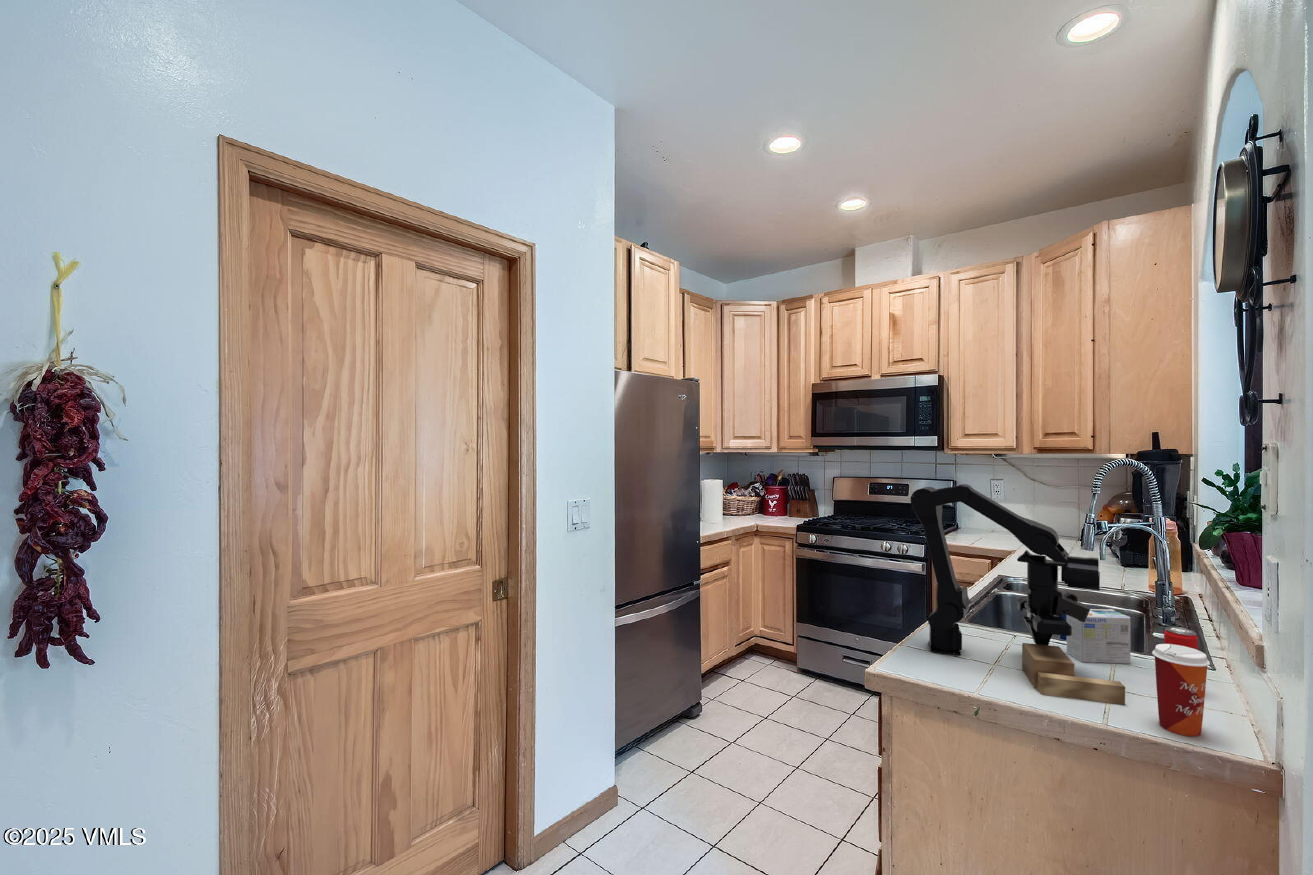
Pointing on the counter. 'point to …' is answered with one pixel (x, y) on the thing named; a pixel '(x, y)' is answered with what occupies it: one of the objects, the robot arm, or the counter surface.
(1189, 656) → the paper cup
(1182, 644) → the beverage can
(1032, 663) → the walnut block
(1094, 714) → the counter surface
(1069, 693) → the oak board
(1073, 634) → the light bulb box
